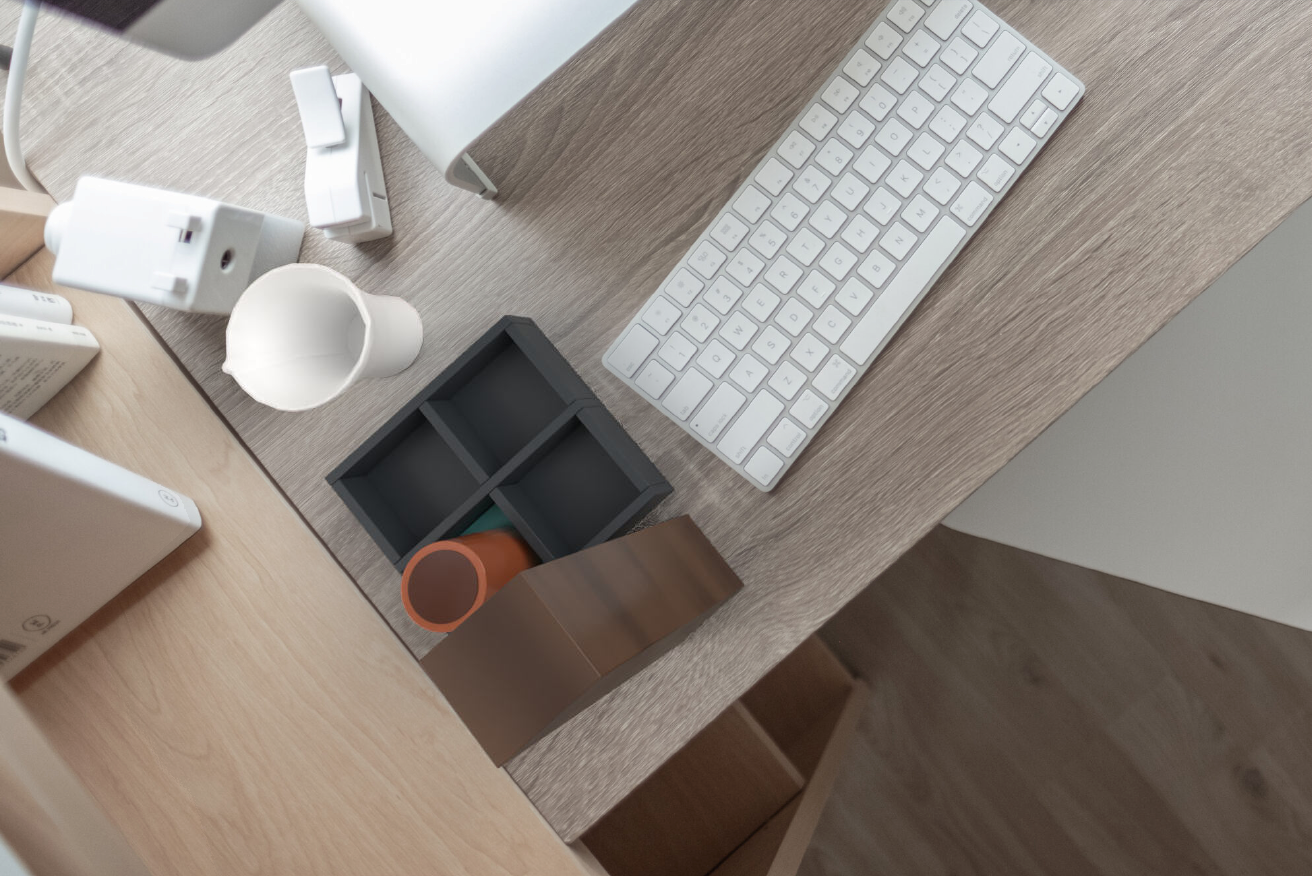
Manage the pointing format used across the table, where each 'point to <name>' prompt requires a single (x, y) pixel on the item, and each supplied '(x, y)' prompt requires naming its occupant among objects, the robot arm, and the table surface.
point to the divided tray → (500, 456)
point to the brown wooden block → (576, 632)
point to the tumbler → (462, 575)
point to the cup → (315, 337)
